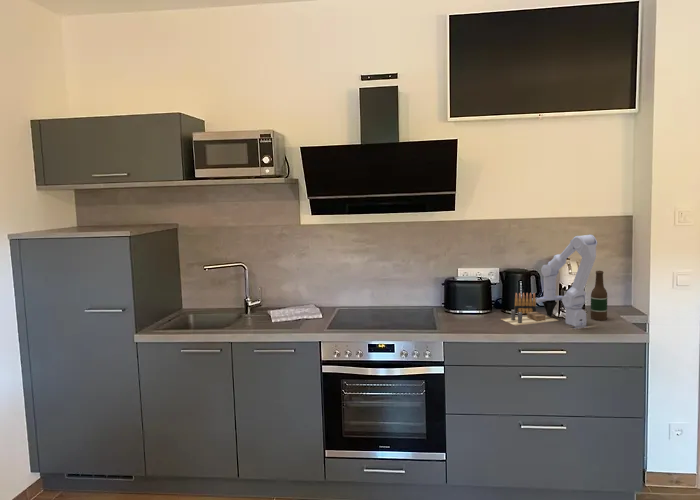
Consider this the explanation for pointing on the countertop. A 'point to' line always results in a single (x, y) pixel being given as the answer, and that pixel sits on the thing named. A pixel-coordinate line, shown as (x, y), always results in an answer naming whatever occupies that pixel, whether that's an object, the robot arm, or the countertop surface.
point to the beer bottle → (599, 299)
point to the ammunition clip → (525, 303)
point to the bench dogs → (518, 316)
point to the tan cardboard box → (536, 316)
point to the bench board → (527, 320)
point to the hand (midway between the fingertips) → (549, 315)
